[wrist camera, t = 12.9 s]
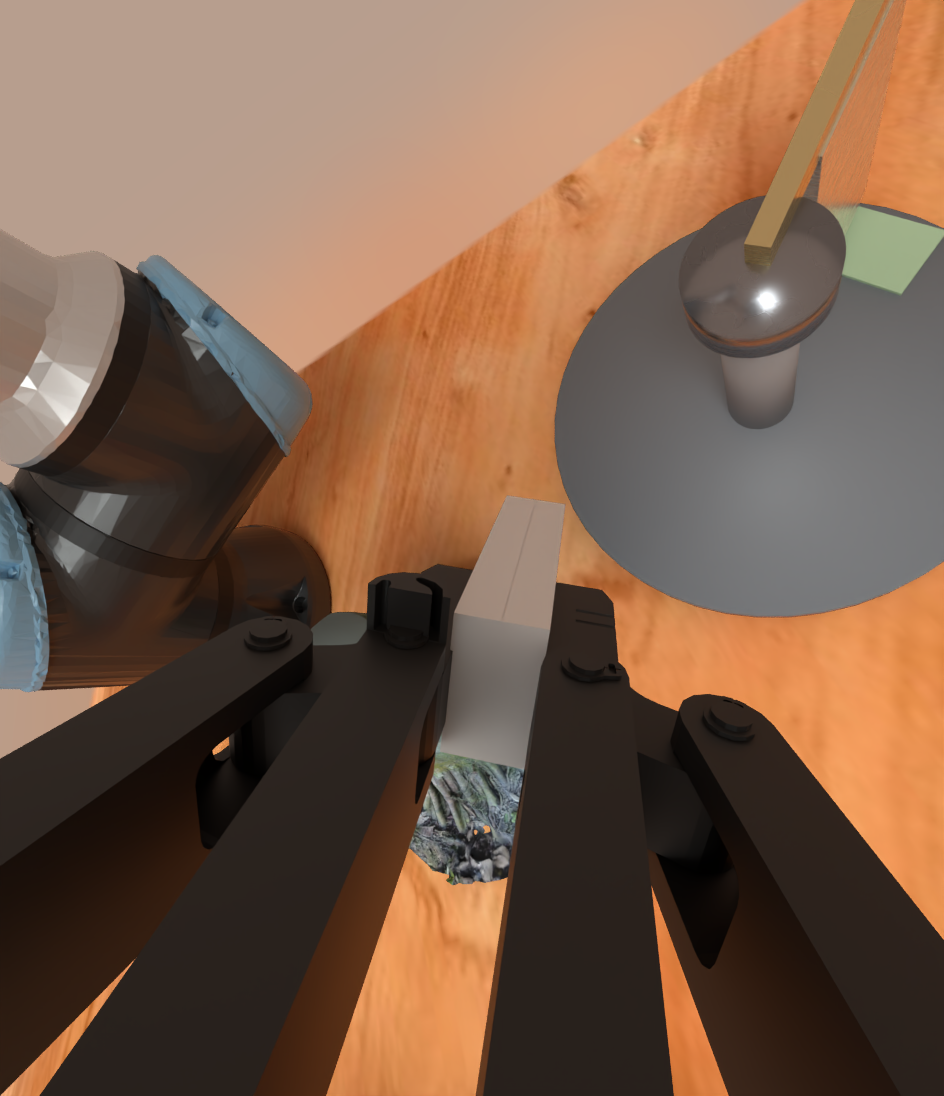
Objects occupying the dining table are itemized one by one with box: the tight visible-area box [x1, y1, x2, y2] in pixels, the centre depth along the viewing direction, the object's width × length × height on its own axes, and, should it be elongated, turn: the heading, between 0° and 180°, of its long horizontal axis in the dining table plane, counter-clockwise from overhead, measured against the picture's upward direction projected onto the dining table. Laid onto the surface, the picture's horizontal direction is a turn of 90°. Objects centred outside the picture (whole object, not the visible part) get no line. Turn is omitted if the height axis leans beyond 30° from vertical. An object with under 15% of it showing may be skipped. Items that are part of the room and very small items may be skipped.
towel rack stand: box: [678, 0, 906, 358], centre depth 29 cm, size 19×6×14 cm, turn 152°
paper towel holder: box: [555, 203, 944, 617], centre depth 32 cm, size 26×26×12 cm
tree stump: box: [310, 612, 524, 885], centre depth 37 cm, size 18×20×18 cm
